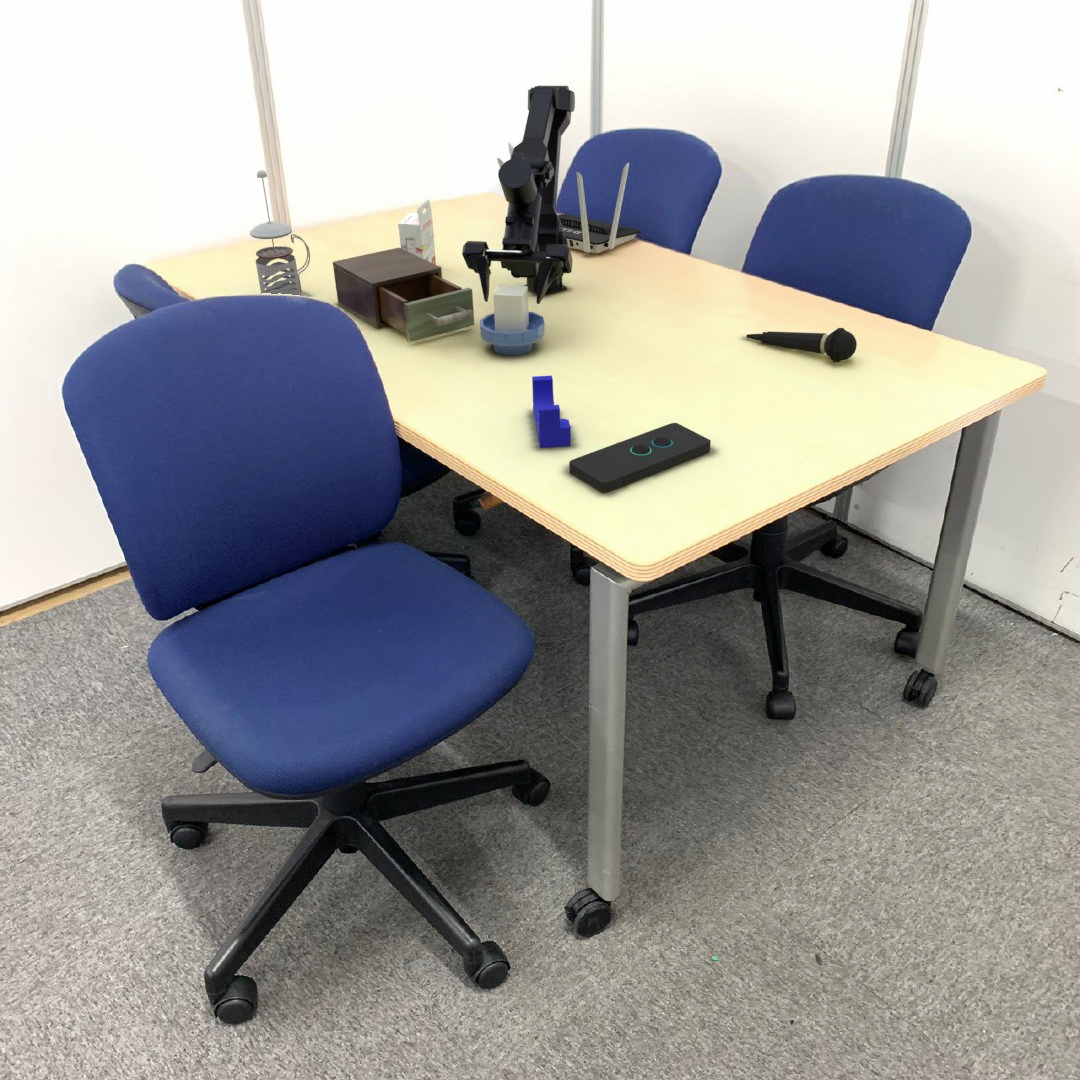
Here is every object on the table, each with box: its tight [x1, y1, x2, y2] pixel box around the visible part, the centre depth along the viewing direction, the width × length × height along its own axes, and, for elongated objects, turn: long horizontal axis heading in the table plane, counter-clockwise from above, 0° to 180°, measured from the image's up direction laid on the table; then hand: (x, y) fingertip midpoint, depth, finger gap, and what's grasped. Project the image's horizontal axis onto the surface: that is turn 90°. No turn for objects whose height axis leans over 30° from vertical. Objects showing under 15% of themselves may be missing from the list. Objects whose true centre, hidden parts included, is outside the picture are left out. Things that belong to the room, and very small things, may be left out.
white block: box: [493, 284, 530, 333], centre depth 178 cm, size 5×5×7 cm
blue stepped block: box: [531, 375, 572, 449], centre depth 152 cm, size 12×4×6 cm, turn 5°
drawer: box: [376, 274, 475, 343], centre depth 187 cm, size 21×13×7 cm, turn 35°
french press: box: [249, 170, 311, 297], centre depth 199 cm, size 10×12×25 cm
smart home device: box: [568, 422, 712, 494], centre depth 144 cm, size 8×2×20 cm
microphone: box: [745, 327, 858, 364], centre depth 176 cm, size 6×6×20 cm
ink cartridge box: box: [397, 198, 437, 265], centre depth 213 cm, size 9×5×15 cm, turn 168°
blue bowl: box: [479, 311, 546, 356], centre depth 180 cm, size 11×11×5 cm
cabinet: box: [332, 247, 443, 329], centre depth 198 cm, size 17×15×9 cm
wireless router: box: [496, 142, 642, 254], centre depth 228 cm, size 34×23×20 cm
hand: (511, 301), depth 177 cm, fingers open, 9 cm apart
